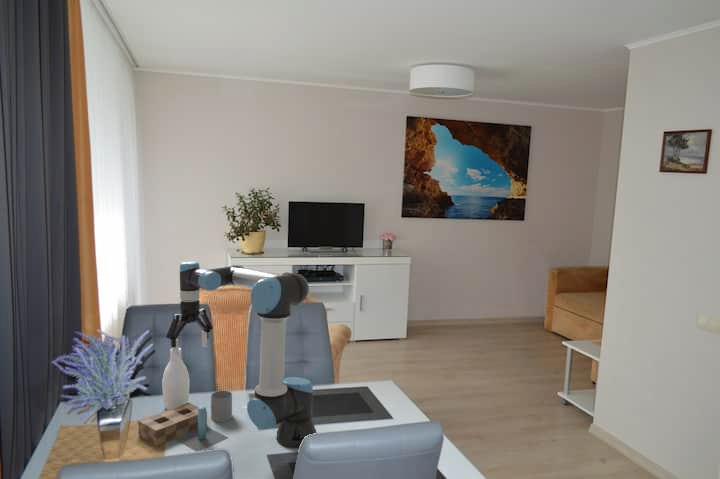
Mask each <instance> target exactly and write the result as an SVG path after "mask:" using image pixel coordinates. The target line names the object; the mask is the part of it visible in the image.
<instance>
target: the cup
mask: <svg viewBox="0 0 720 479" xmlns="http://www.w3.org/2000/svg"><path fill="white" fill-rule="evenodd" d="M210 411H211V412H210V415H211V416H210V420H212V422H216V423H224V422H229V421H230V420H232V419H233V392H231V391H229V390H217V391H214V392H212V393H211V395H210Z"/></svg>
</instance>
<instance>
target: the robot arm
mask: <svg viewBox="0 0 720 479" xmlns="http://www.w3.org/2000/svg"><path fill="white" fill-rule="evenodd" d="M225 286H236V287H241V288H246V289H251V291H250V304H251V305H252V308H253V310H254V311H255V312H256V313H257V314H256V315H257V317H258V318H259V319H260V320H261V323H260V326H261V327H260V354H259V358H260V359H259V380H258V381H259V382H258V384H257V385H256V386H255V387H254V396H253V397H251V398H250V400H248V401H247V405H246V406H247V407H246V410H247V415H248V417H249V419H250V421H251V422H252V424H254V426H256V427H257V428H259V429H260V430H266V429H267V430H268V429H270V428H273V427H275V426H276V425H278V429H277V431H276V441H277V443H278V444H279V445H281V446H284V447H287V448H295V449H297V448H300V447H299V446H300V444H301V442H302V440H303V439H304V437H305V436H307V435H309V434H313V433H316V434H317V429H316V427H315V424H314V423H315V422H314V421H313V405H314V404H313V402H314V400H313V399H314V398H313V396H314V391H313V383H312V382H311V380H309V379H306V378H304V377H298V376H297V377H296V376H293V377H292V376H290V377H285V360H286V359H285V358H286V356H285V353H286V337H287V336H286V333H287V329H286V328H287V320H288V319H289V318H290V317H291V314H292V307H295V306H298V305H300V304H302V303H303V302H304V301H305V300H306V299H307V298H308V295H309V293H310V292H309V291H310V290H309V289H310V286H309V283H308V280H307V279H306V277H304V276H303V275H302V274H299V273H295V272H283V273H275V272H269V271H262V270H256V269H249V268H245V267H244V266H242V265H233V264H232V265H230V266H224V267H216V268H210V269H209V268H208V269H203V268H201V267H200V263H199V262H198V261H182V262H181V263H180V265H179V292H180V294H179V295H180V298H179V299H180V301H179V303H180V304H179V308H180V313H174V314H173V319H172V321H171V324H170V327H169V328H168V331H167V334H166V339H168V340H170V346H171V348H173V354H174V355H176V356H178V348H179V339H178V337H179V335H180V334H181V332H182V331H183V329H184V328H185V326H187V324H191V323H196V324H197V325H198V326H199V327H200V328H201V329H202V331H201V347H202V348H205V349H207V348H208V339H209V333H210V332H211V330H213V328H214V327H213V325H212V323H211V321H210V319H209V317H208V315H207V310H206V309H205V308H201V305H200V296H201V295H200V294H201V293H200V292H201V291H200V289H202V290H204V291H212V292H213V291H216V290H217V289H219V288H221V287H225ZM199 316H201V318H202V319H201V318H200V317H199ZM202 320H203V321H202Z"/></svg>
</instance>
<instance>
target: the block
mask: <svg viewBox="0 0 720 479" xmlns="http://www.w3.org/2000/svg"><path fill="white" fill-rule="evenodd" d="M198 407H199V406H197V405H195V404H193V403H191V402H188V403H186V404H183V405H181V406H178V407H175V408H172V409H170V410H167V409H166V410H164V411H162V412H159V413H156V414H153V415H151V416H148V417H145V418H142V419H140V420H137V421H138V436H139V435H140V436H139V437H141V436H142V437H141V438H143V439H144V438H145V439H144V440H146V441H147V442H149V441H150V443H151V442H152V443H151V444H153V445H154V444H155V446H156V445H157V446H158V445H161V444H164V443H166V442H169V441H171V440H175V439H177V438H179V437H182V436H184V435H187V434H189V433H192V432H194V431H196V430H198ZM207 417H208V411H207V410H206V426H207V425H208V418H207Z"/></svg>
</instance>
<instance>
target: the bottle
mask: <svg viewBox="0 0 720 479" xmlns="http://www.w3.org/2000/svg"><path fill="white" fill-rule="evenodd" d="M169 353H170V354H169V362H168V363H167V365H166V366H165V368H164V372H163V375H162V379H161V380H162V381H161V385H162V386H161V388H162V398H163V404H164V405H163V406H164V409H166V411H167V410H170V409H172V408H175V407H178V406H181V405H183V404H186V403H189V396H190V395H189V394H190V384H191V382H190V381H191V380H190V374H189V372H188V367H187V366H186V365H185V363H184V361H183V360H182V348H181V347H178V356H176V355H174V354H173V347H171V348H170V349H169Z"/></svg>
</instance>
